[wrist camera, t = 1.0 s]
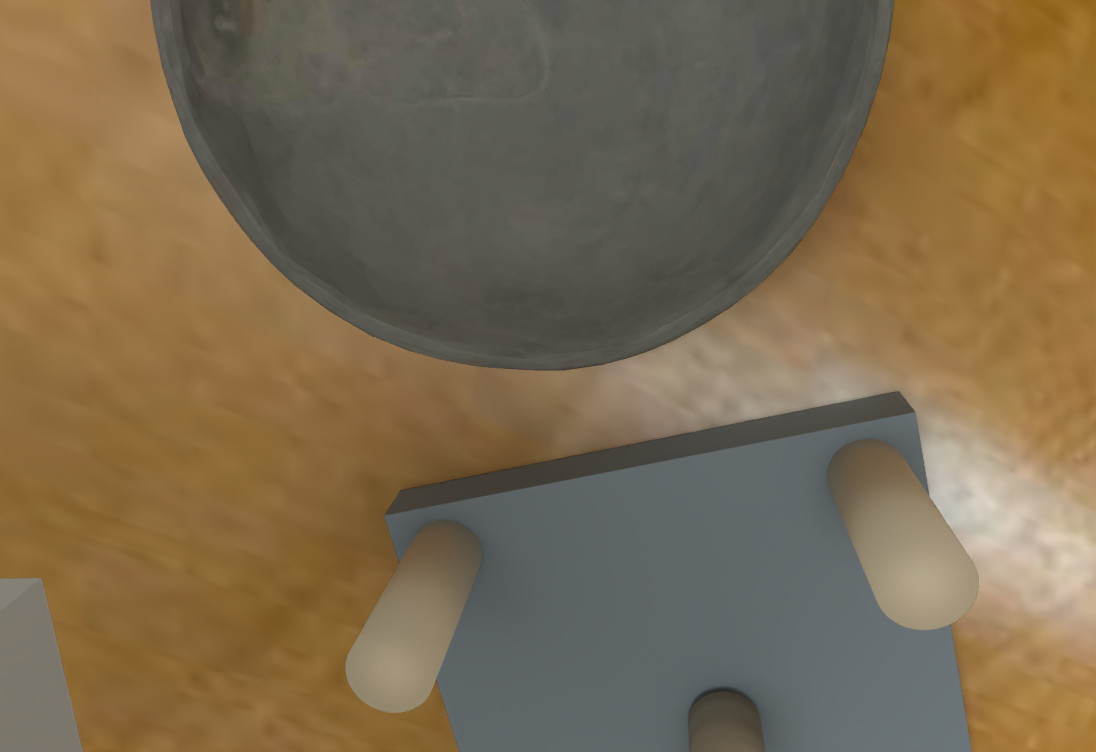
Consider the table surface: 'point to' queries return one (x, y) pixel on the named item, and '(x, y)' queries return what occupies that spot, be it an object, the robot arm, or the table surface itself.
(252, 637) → the table surface
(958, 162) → the table surface
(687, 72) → the bowl
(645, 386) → the table surface
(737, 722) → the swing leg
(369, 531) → the table surface
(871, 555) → the stool seat
